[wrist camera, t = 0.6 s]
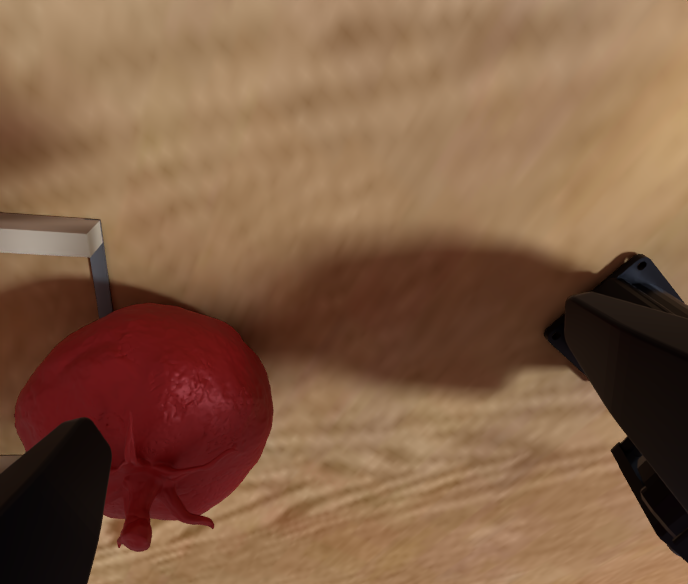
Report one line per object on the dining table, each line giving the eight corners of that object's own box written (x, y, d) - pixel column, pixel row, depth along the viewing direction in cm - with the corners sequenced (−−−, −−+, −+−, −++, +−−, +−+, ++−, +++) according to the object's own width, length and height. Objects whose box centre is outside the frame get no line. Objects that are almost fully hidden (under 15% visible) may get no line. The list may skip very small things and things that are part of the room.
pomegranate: (143, 233, 19) (56, 373, 11) (310, 353, 24) (332, 513, 16) (20, 374, 22) (-124, 571, 14) (192, 458, 26) (160, 643, 18)
